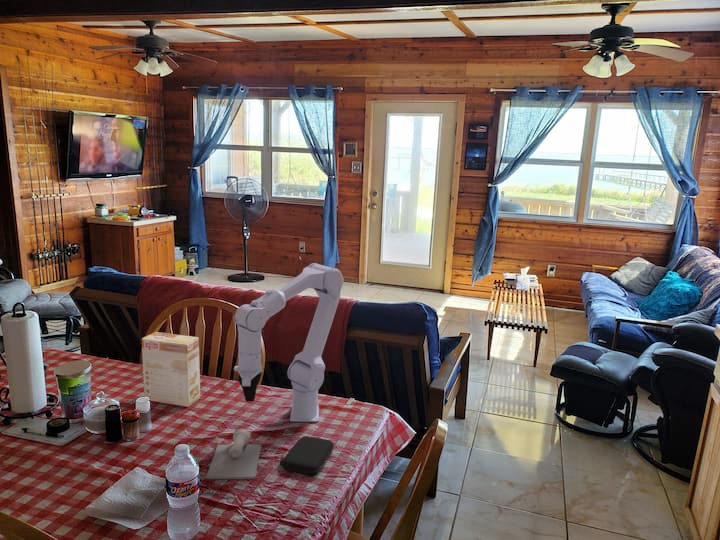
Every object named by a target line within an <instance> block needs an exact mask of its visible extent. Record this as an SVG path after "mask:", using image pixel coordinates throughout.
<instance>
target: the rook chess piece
mask: <svg viewBox="0 0 720 540" xmlns="http://www.w3.org/2000/svg"><path fill="white" fill-rule="evenodd" d="M251 438H252V436H251V432H249V431H248V430H247V429H246V428H238V429H236V430H235V431H234V432H233V436H232V441H233V444H231V445H232V447H231V448H230V449H229V453H230V457H231V456H232V458H236V459H237V458H238V457H240V456H241V455H242V450H243V446H245V445H249V442H250V441H251Z"/></svg>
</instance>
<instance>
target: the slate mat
mask: <svg viewBox="0 0 720 540" xmlns="http://www.w3.org/2000/svg"><path fill="white" fill-rule="evenodd" d="M232 445H233V444H217V446H216V449H215V451H214V454H213V457H212V460H211V463H210V466H209V469H208V471H207V473H206V476H205V477H206V480H255V478H256V475H257V469H258V464H259V459H260V455H261V450H262V444H246V445H245V446H243V450H242V455H241V456H240V457H238V458H237V459H236V458H232V456H231V457H230V453H229V449H230V448H231V447H232Z"/></svg>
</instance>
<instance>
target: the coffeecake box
mask: <svg viewBox="0 0 720 540" xmlns="http://www.w3.org/2000/svg"><path fill="white" fill-rule="evenodd" d="M199 339H200V338H199V337H198V336H191V335H184V334H183V335H182V334H174V333H168V332H159V331H154V332H152V333H150V334H148V335H146V336H144V337H142V338H141V352H142V353H141V354H142V355H141V356H142V371H143V372H142V374H143V378H142V379H143V392H144V393H143V395H144V396H147V397H149V399H150V401H151V402H156V403H157V402H158V403H162V404H170V405H175V406H180V407H187V408H189V407H191V406H192V405H193V404H194V403H195V402H197V401H198V400H199V399H200V398H201V377H200V375H201V370H200V369H201V368H200V367H201V366H200V340H199Z"/></svg>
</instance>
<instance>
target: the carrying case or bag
mask: <svg viewBox="0 0 720 540" xmlns="http://www.w3.org/2000/svg"><path fill="white" fill-rule="evenodd" d="M334 448H335V445H334V443H333V441H331V440H329V439H324V438H319V437H313V436H309V435H308V436H307V435H305V436H302V437H300V438H298V440H296V442H295V443H294V445H293V446H292V447H291V448H290V450H289V451H288V453H287V454H285V456H284V455H282V456H281V458H280V462H279V465H280V466H281V468H282V469H283V470H284V471H285V472H288V473H291V474H295V475H303V476H306V477H315V476H317V474H319V473H320V472H321V471H322V469H323V467H324V465H325V463H326V462H327V460H328V458H329V457H330V455H331V454H332V452H333V451H334Z"/></svg>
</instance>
